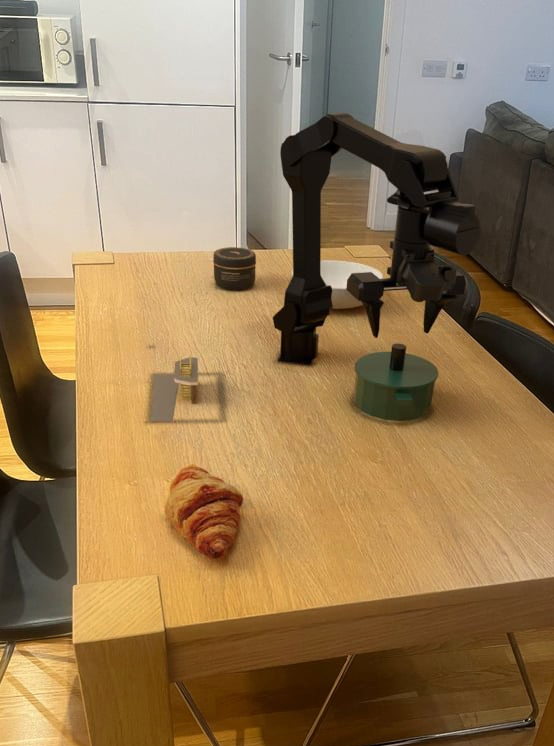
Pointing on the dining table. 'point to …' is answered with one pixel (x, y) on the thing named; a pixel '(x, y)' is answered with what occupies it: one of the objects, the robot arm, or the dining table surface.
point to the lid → (396, 369)
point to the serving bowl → (342, 280)
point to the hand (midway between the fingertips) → (400, 334)
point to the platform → (173, 389)
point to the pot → (392, 401)
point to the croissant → (204, 510)
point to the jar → (234, 268)
